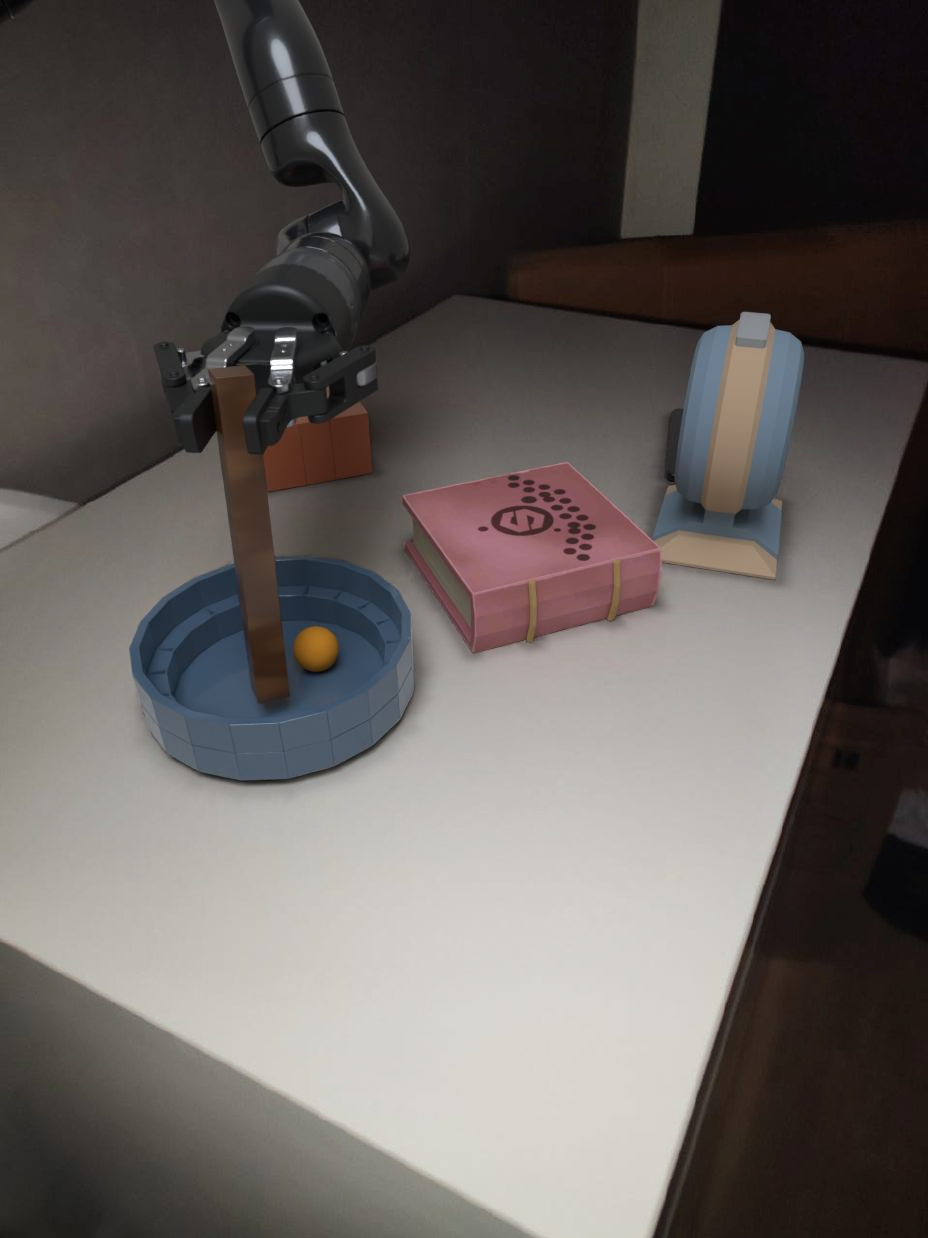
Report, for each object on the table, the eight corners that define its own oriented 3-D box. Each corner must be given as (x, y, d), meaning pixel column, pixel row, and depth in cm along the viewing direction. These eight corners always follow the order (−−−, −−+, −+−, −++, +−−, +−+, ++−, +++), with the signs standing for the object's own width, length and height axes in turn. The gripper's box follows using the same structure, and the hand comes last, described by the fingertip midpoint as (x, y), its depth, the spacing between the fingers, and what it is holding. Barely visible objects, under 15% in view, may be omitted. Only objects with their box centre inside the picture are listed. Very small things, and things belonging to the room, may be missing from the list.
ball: (283, 645, 58) (322, 671, 58) (311, 610, 59) (349, 636, 59) (283, 661, 61) (320, 686, 61) (310, 628, 62) (346, 652, 62)
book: (477, 660, 62) (477, 601, 59) (404, 549, 74) (401, 495, 71) (659, 612, 66) (668, 554, 63) (564, 514, 78) (567, 461, 75)
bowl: (162, 820, 51) (142, 757, 48) (137, 643, 64) (121, 585, 61) (450, 742, 56) (449, 680, 53) (373, 592, 69) (368, 536, 66)
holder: (268, 492, 82) (258, 430, 78) (249, 447, 89) (239, 388, 85) (372, 473, 84) (368, 412, 81) (346, 431, 92) (340, 373, 88)
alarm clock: (669, 482, 82) (697, 282, 72) (781, 497, 80) (827, 292, 69) (645, 566, 71) (673, 344, 61) (774, 587, 69) (827, 359, 58)
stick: (258, 704, 56) (215, 377, 46) (251, 688, 57) (207, 368, 48) (290, 697, 57) (254, 373, 47) (282, 681, 58) (245, 364, 48)
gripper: (181, 260, 58) (66, 362, 44) (399, 263, 57) (350, 367, 43) (203, 374, 63) (104, 498, 49) (405, 378, 62) (363, 506, 48)
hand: (221, 436), depth 46 cm, fingers closed on stick, 2 cm apart
